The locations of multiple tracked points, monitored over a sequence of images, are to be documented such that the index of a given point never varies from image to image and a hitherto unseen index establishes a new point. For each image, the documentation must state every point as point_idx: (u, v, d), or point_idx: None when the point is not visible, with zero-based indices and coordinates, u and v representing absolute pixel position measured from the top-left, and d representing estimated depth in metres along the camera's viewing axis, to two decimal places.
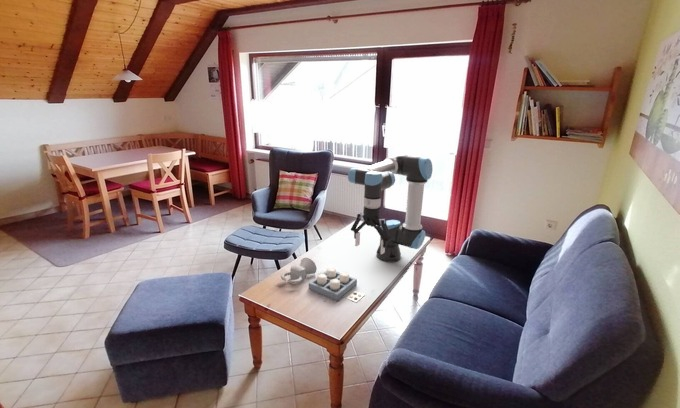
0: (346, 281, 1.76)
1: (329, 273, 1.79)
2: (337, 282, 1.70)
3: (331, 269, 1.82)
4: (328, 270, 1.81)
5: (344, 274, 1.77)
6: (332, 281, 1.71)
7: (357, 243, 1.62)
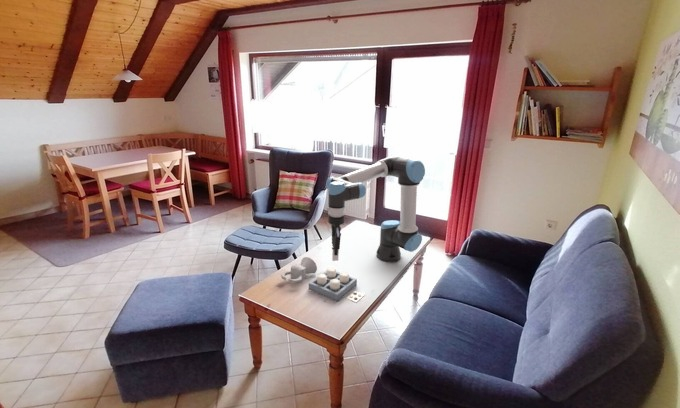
0: (346, 281, 1.76)
1: (329, 273, 1.79)
2: (337, 282, 1.70)
3: (331, 269, 1.82)
4: (328, 270, 1.81)
5: (344, 274, 1.77)
6: (332, 281, 1.71)
7: None
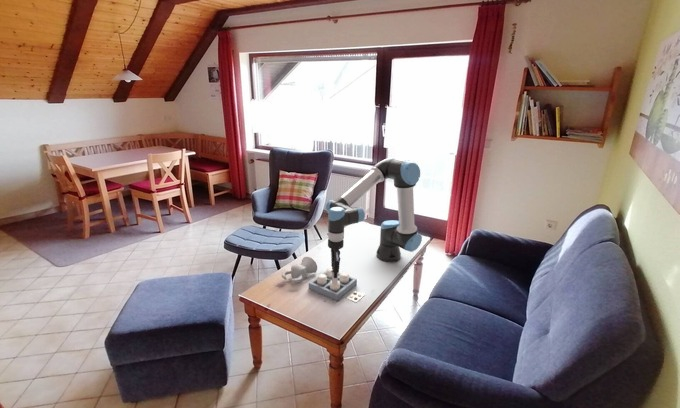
0: (346, 281, 1.76)
1: (329, 273, 1.79)
2: (337, 283, 1.70)
3: (331, 269, 1.82)
4: (328, 270, 1.81)
5: (344, 274, 1.77)
6: None
7: None
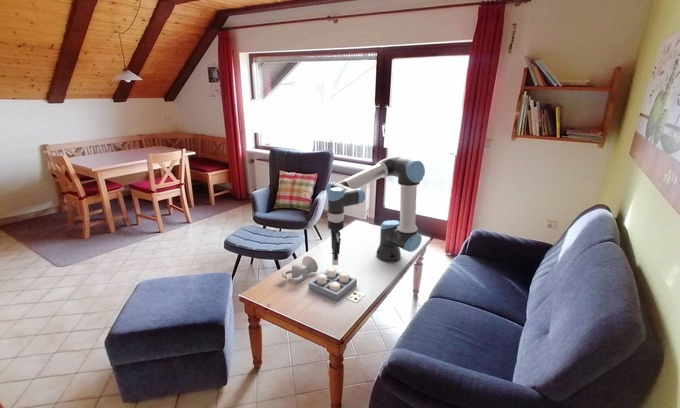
0: (346, 281, 1.76)
1: (329, 273, 1.79)
2: (337, 285, 1.71)
3: (331, 269, 1.82)
4: (328, 270, 1.81)
5: (344, 274, 1.77)
6: (332, 284, 1.71)
7: None
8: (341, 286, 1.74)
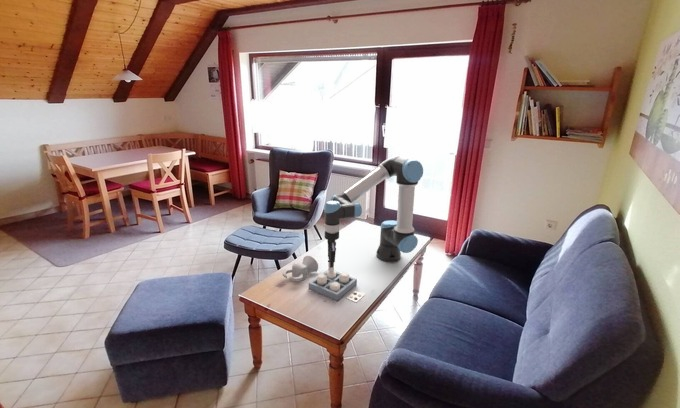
0: (346, 281, 1.76)
1: (329, 275, 1.80)
2: (337, 285, 1.71)
3: None
4: (328, 272, 1.81)
5: (344, 274, 1.77)
6: (332, 284, 1.71)
7: None
8: (341, 286, 1.74)
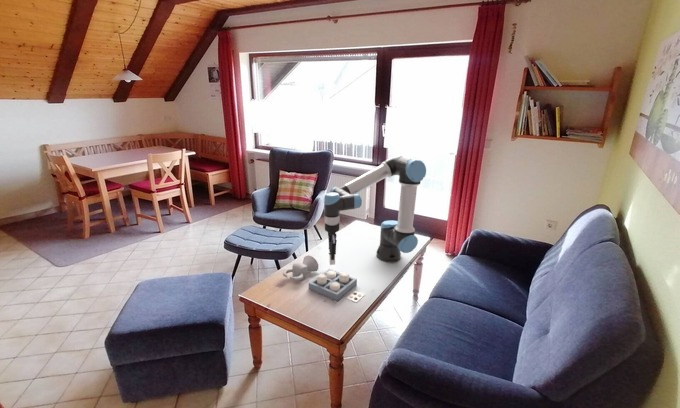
0: (346, 281, 1.76)
1: (329, 276, 1.80)
2: (337, 285, 1.71)
3: (331, 273, 1.82)
4: (328, 273, 1.82)
5: (344, 274, 1.77)
6: (332, 284, 1.71)
7: None
8: (341, 286, 1.74)
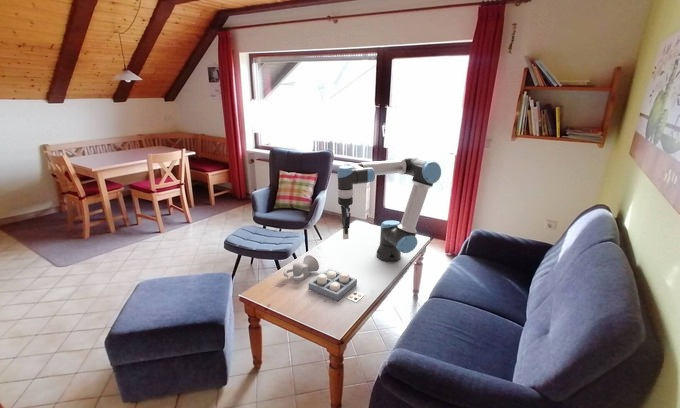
0: (346, 281, 1.76)
1: (329, 276, 1.80)
2: (337, 285, 1.71)
3: (331, 273, 1.82)
4: (328, 273, 1.82)
5: (344, 274, 1.77)
6: (332, 284, 1.71)
7: None
8: (341, 286, 1.74)
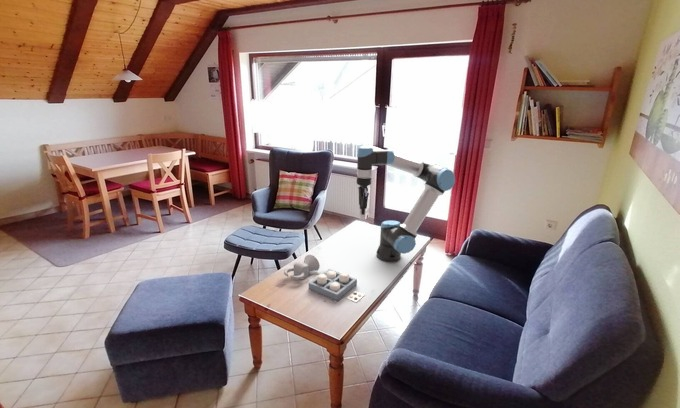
0: (346, 281, 1.76)
1: (329, 276, 1.80)
2: (337, 285, 1.71)
3: (331, 273, 1.82)
4: (328, 273, 1.82)
5: (344, 274, 1.77)
6: (332, 284, 1.71)
7: None
8: (341, 286, 1.74)
